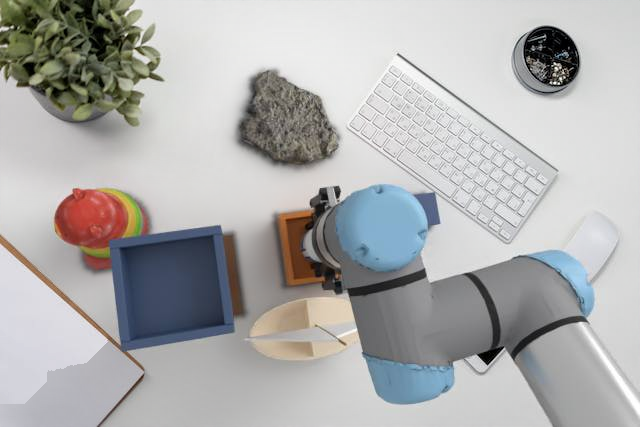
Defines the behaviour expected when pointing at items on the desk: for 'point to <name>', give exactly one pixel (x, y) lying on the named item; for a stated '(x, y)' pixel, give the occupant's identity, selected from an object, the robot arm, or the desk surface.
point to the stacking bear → (98, 222)
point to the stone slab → (288, 122)
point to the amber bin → (295, 248)
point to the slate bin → (174, 286)
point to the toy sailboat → (305, 329)
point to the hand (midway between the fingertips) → (316, 245)
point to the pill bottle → (308, 248)
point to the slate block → (429, 207)
